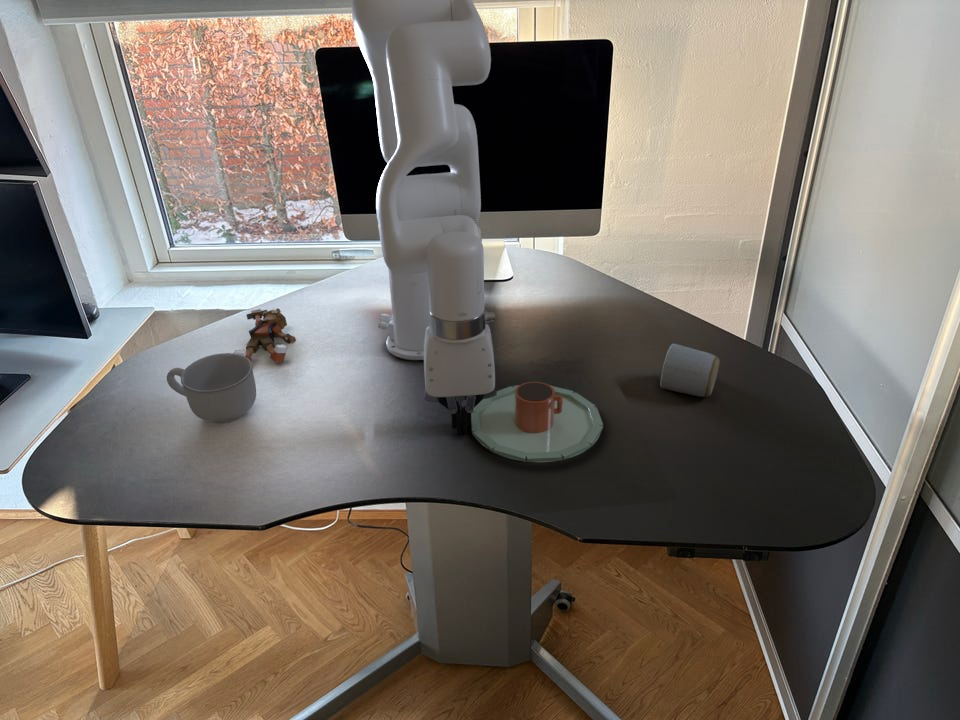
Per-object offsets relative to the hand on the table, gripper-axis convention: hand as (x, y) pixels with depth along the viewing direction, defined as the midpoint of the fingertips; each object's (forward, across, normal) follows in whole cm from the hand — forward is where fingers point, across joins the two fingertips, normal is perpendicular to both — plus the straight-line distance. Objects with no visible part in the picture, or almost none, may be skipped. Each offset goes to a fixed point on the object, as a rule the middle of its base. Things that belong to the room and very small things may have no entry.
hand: (461, 430), depth 109 cm
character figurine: (+1, +34, -34) cm, 48 cm away
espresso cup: (0, -11, 0) cm, 11 cm away
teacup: (+1, +39, -11) cm, 40 cm away
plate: (+1, -11, 0) cm, 11 cm away
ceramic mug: (+1, -39, -10) cm, 40 cm away
